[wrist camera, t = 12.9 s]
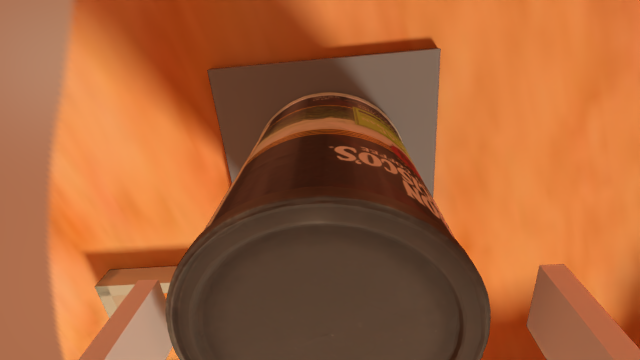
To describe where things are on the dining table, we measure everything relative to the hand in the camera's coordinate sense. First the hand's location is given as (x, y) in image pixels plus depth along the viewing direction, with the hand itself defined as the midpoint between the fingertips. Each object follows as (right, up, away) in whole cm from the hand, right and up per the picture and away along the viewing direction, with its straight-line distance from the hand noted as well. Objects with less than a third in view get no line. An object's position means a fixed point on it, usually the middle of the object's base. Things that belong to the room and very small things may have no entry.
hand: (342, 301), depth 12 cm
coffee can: (0, +5, +12) cm, 13 cm away
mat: (0, +5, +12) cm, 13 cm away
